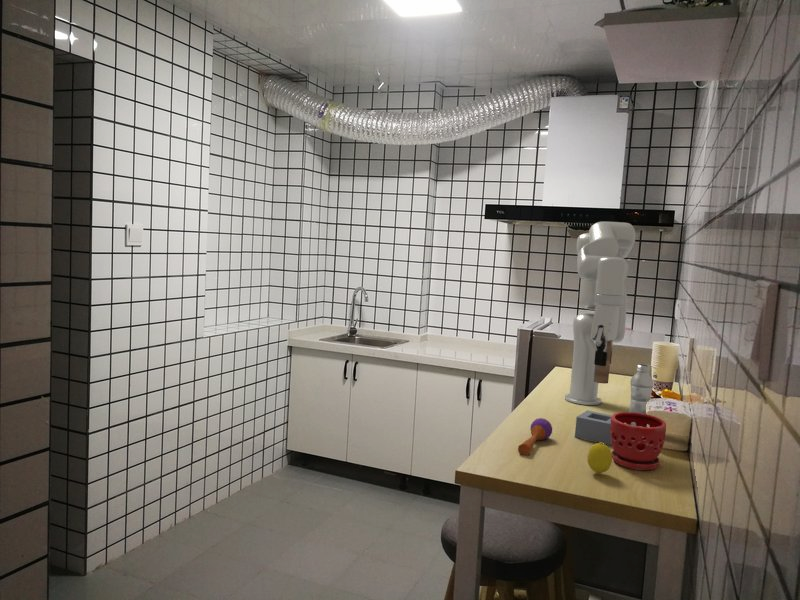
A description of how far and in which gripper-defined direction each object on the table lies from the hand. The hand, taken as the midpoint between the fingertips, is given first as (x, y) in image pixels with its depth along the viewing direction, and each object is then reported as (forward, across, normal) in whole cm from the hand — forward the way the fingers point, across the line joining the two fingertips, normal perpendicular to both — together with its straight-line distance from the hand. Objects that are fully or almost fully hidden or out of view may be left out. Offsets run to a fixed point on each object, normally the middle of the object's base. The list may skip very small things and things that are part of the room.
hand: (602, 363), depth 174 cm
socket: (+22, 0, 0) cm, 22 cm away
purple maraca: (+22, +20, -10) cm, 32 cm away
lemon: (+22, +30, +10) cm, 38 cm away
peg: (+5, 0, 0) cm, 5 cm away
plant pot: (+22, +16, +15) cm, 31 cm away
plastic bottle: (+22, -18, +7) cm, 29 cm away
